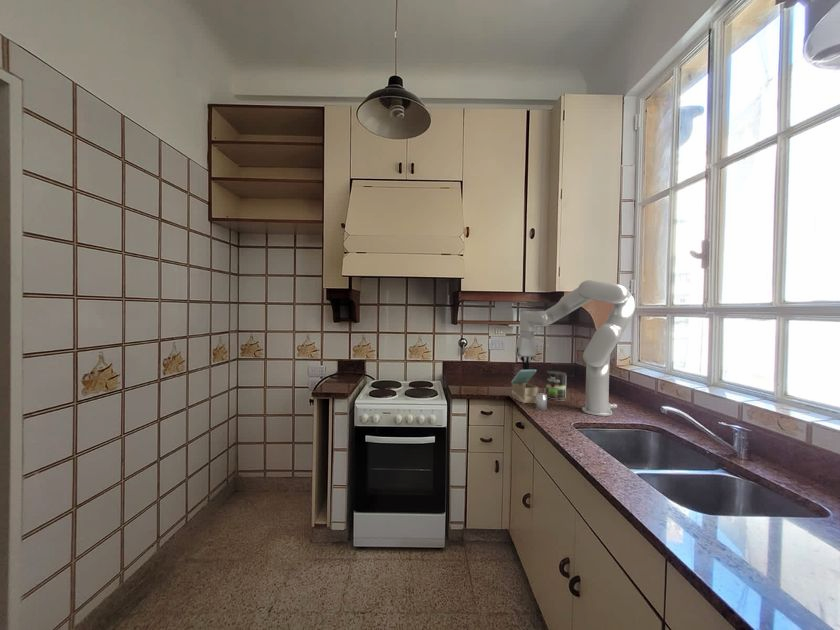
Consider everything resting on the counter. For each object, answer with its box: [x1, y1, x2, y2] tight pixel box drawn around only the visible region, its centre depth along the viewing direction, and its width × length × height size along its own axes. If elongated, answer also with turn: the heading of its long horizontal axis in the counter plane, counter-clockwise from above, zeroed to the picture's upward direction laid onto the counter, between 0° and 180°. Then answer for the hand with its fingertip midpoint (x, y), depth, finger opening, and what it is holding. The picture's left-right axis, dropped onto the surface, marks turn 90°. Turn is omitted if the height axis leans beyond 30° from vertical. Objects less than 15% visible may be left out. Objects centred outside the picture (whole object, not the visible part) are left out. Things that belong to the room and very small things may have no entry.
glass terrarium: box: [545, 370, 567, 399], centre depth 186 cm, size 10×10×14 cm
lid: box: [510, 369, 537, 384], centre depth 181 cm, size 9×12×1 cm
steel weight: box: [535, 392, 548, 410], centre depth 165 cm, size 5×5×7 cm
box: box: [511, 382, 540, 404], centre depth 180 cm, size 9×12×8 cm
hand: (525, 369), depth 179 cm, fingers closed
